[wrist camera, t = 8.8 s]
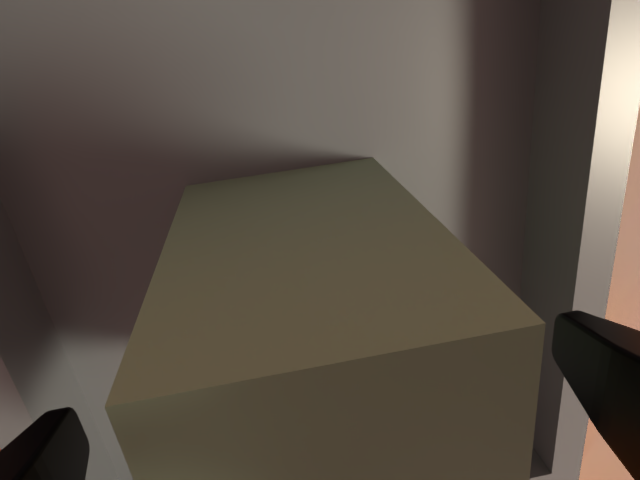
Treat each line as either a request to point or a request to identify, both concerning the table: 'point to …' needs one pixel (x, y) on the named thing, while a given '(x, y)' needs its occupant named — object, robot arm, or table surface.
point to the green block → (324, 341)
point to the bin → (299, 159)
